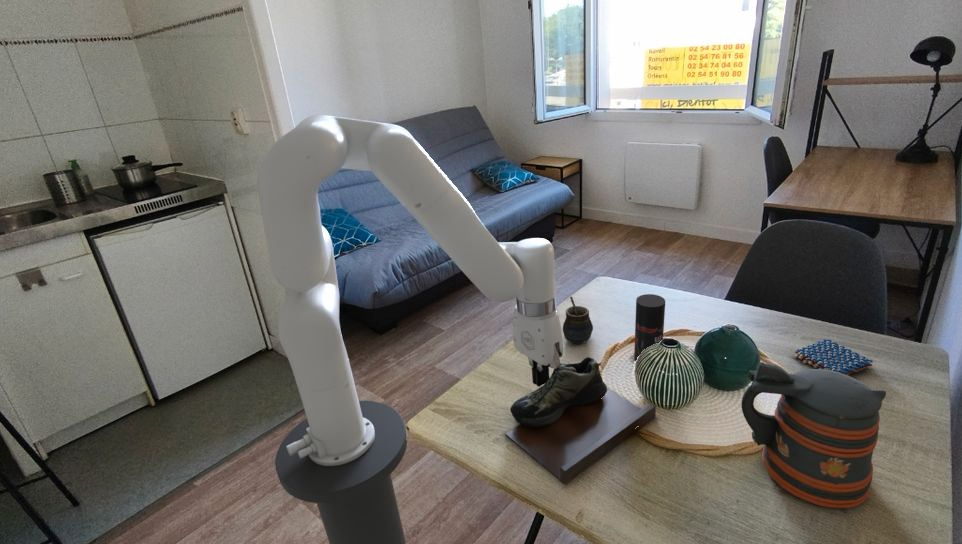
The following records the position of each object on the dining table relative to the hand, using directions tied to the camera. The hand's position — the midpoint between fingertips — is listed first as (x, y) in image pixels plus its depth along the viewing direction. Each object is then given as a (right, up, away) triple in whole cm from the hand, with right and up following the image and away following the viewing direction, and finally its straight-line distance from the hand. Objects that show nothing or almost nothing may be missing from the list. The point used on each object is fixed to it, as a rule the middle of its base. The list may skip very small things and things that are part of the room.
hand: (541, 382), depth 103 cm
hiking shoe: (+3, -5, -2) cm, 6 cm away
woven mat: (+62, +3, +4) cm, 62 cm away
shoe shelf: (+7, -7, -7) cm, 12 cm away
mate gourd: (+11, +6, +21) cm, 25 cm away
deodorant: (+25, +3, +11) cm, 28 cm away
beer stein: (+40, -10, -21) cm, 46 cm away
